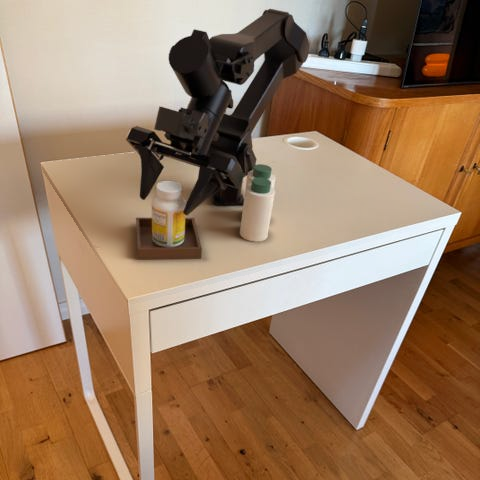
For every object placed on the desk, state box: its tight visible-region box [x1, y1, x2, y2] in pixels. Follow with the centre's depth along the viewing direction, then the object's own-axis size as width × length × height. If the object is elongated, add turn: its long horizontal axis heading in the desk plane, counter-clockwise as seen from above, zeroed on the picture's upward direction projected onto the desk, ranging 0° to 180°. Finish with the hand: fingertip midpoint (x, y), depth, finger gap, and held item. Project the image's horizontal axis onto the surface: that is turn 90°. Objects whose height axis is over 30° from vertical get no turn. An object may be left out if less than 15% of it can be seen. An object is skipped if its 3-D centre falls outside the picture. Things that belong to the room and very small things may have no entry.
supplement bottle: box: [151, 180, 187, 248], centre depth 73 cm, size 5×5×10 cm
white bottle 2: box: [239, 177, 276, 243], centre depth 78 cm, size 5×5×10 cm
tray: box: [135, 217, 203, 260], centre depth 76 cm, size 10×10×2 cm
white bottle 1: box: [245, 163, 276, 189], centre depth 83 cm, size 5×5×10 cm
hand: (163, 206), depth 71 cm, fingers open, 8 cm apart
